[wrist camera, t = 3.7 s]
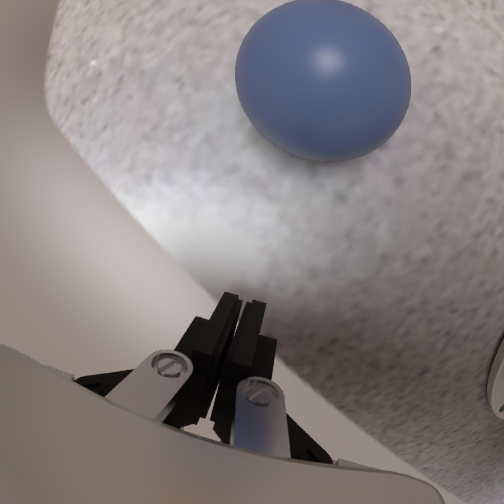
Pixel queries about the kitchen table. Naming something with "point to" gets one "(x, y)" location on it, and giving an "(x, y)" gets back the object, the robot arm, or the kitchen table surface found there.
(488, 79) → the kitchen table surface
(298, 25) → the blue ball
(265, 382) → the robot arm
